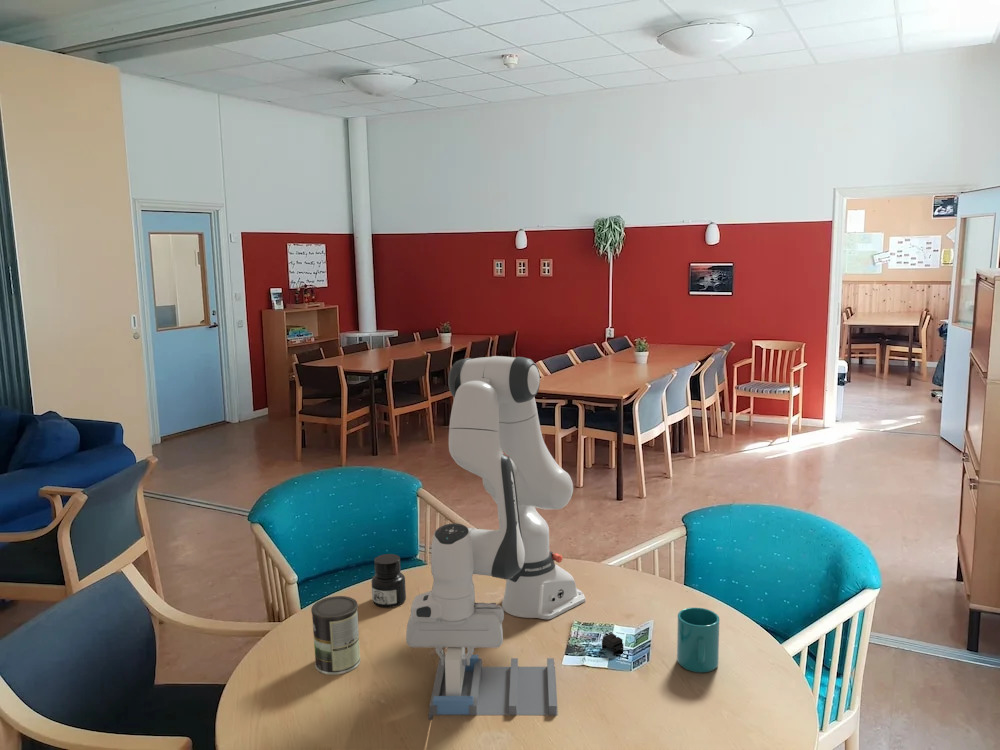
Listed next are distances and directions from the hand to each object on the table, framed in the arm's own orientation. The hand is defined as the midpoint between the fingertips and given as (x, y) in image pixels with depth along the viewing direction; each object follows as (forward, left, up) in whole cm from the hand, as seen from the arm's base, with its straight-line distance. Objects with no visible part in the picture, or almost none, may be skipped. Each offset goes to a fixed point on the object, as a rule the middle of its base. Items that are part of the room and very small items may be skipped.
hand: (455, 664), depth 165 cm
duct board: (-7, +5, -7) cm, 11 cm away
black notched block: (-38, +7, -8) cm, 39 cm away
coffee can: (+16, -26, -7) cm, 32 cm away
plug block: (0, 0, -4) cm, 4 cm away
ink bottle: (-7, -48, -7) cm, 49 cm away
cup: (-50, +22, -7) cm, 55 cm away
